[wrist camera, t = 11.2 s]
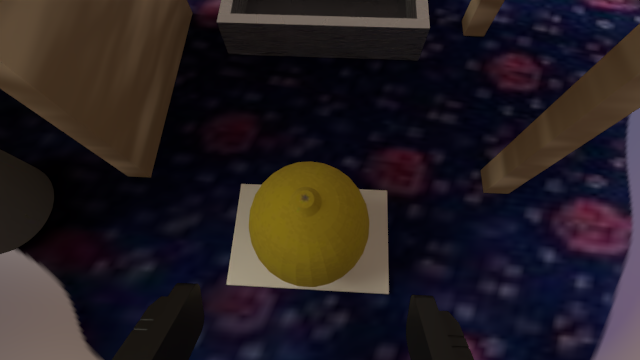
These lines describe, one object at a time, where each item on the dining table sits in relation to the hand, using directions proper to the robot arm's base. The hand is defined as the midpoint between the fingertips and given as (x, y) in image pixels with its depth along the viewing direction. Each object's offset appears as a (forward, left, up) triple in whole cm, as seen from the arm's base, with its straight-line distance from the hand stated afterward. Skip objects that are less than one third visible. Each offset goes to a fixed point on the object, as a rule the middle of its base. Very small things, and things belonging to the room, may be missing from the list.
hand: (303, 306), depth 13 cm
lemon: (0, +4, -6) cm, 7 cm away
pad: (0, +4, -6) cm, 7 cm away
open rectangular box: (0, +22, -6) cm, 23 cm away
